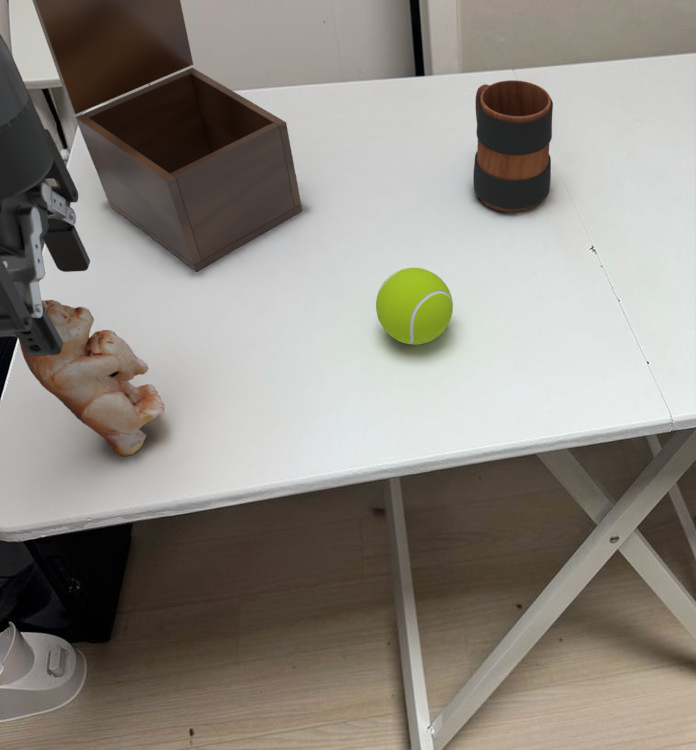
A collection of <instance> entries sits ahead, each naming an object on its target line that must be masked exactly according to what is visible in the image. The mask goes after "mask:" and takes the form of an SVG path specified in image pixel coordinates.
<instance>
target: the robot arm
mask: <svg viewBox="0 0 696 750" xmlns="http://www.w3.org/2000/svg"><path fill="white" fill-rule="evenodd" d="M22 77H23V76H22V75H21V73H20V71H19V68H18V65H17V63H16V61H15V59H14V57H13V54H12V52H11V50H10V47H9V46H8V45H7V43H6V41H5V40H4V38H3V36H2V34H1V33H0V333H11V332H14V335H15V336H16V338H17V339H18V341H20V342H21V344H22V346H23V348H24V349H25V351H26V353H28V354H29V355H33V356H44V355H57V354H60V353H61V350H62V347H63V341H62V339H61V337H60V335H59V334H58V332H57V330H56V328H55V326H54V324H53V322H52V321H51V319H50V317H49V315H48V313H47V311H46V310H45V308H43V307H42V301H41V300H42V295H41V290H40V289H41V288H40V281H41V280H43V279H44V278H45V276H46V269H45V261H44V256H43V251H42V242H44V245H45V246H46V248H47V250H48V252H49V254H50V256H51V258H52V260H53V263H54V265H55V267H56V268H57V270H59V271H61V272H64V273H68V272H69V273H71V272H85V271H87V270H88V269H89V266H90V263H91V260H90V257H89V255H88V252H87V250H86V249H85V246H84V244H83V241H82V239H81V237H80V235H79V233H78V231H77V229H76V226H75V225H76V223H77V215H76V212H75V210H74V209H73V208H72V207H71V203H77V202H78V201H79V191H78V189H77V187H76V185H75V183H74V180H73V178H72V176H71V174H70V171H69V170H68V168H67V166H66V164H65V161H64V159H63V157H62V155H61V153H60V151H59V148H58V146H57V144H56V142H55V140H54V138H53V136H52V134H51V131H50V130H49V129H47V128H45V127H44V125H43V123H42V120H41V118H40V116H39V113H38V111H37V108H36V106H35V104H34V102H33V100H32V97H31V95H30V92H29V90H28V88H27V87H26V84H25V81H24V80H23V78H22ZM48 179H49V180H50V179H51V180H55V181H57V183H58V185H52V186H51V185H50V184H48V183H46V182H45V180H48ZM21 259H22V260H23V259H25V261H26V262H25V264H26V265H25V266H24V267H23V268H17V269H16V268H15V269H7V268H8V267H9V264H8V261H7V260H21ZM14 283H20V284H21V285H22V289H23V296H24V297H25V300H23V298H22V296H21V294H20V292H19V291H18V289H17V287H16V285H15V284H14ZM20 342H19V343H20Z"/></svg>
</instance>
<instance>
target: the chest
mask: <svg viewBox="0 0 696 750" xmlns="http://www.w3.org/2000/svg"><path fill="white" fill-rule="evenodd" d="M75 120H76V123H77V125H78V128H79V130H80V133H81V137H82V138H83V141H84V144H85V146H86V149H87V151H88V154H89V156H90V158H91V161H92V163H93V166H94V169H95V172H96V174H97V176H98V179H99V182H100V184H101V186H102V189H103V191H104V194H105V196H106V197H105V198H106V199H107V201H108V204H109V206H110V207H111V208H112V209H113V210H114V211H116V212H117V213H119V214H120V215H121V216H123V217H124V218H125V219H127V220H128V221H129V222H131V224H133V225H134V226H135V227H137V228H138V229H140V230H141V231H143V232H144V234H146V235H148V236H149V237H150V238H152V239H153V240H154V241H155V242H157V243H158V244H160V245H161V246H162V247H164V248H165V250H167V251H169V252H170V253H171V254H172V255H174V256H175V257H177V258H178V259H179V260H180V261H182V262H183V263H184V264H186V265H187V266H189V267H190V268H191V269H192V270H193V271H195V272H198V271H200V270H202V269H203V268H205V267H207V266H208V265H210V264H212V263H214V262H215V261H218V260H219V259H221V258H222V257H224V256H226V255H228V254H230V253H232V252H233V251H235V250H236V249H238V248H240V247H241V246H243V245H245V244H246V243H248V242H251V241H253V240H254V239H255V238H258V237H259V236H261V235H262V234H264V233H266V232H268V231H269V230H271V229H273V228H274V227H277V226H278V225H280V224H282V223H283V222H285V221H287V220H288V219H290V218H293V217H294V216H295V215H297V214H299V213H301V212H303V206H302V200H301V196H300V190H299V186H298V178H297V173H296V169H295V163H294V158H293V157H294V156H293V153H292V147H291V140H290V135H289V130H288V125H287V122H286V121H285V120H283V119H282V118H280V117H278V116H277V115H275V114H272V112H269V111H268V110H266V109H264V108H263V107H261V106H259V105H258V104H256V103H254V102H253V101H251V100H250V99H247V98H246V97H244V96H242V95H240V94H238V93H237V92H235V91H233V90H232V89H230V88H229V87H227V86H225V85H223V84H222V83H220V82H218V81H217V80H215V79H213V78H211V77H209V76H208V75H207V74H204V73H202V72H201V71H199V70H198V69H196V68H194V67H190V68H188V69H186V70H183V71H180V72H178V73H176V74H173V75H171V76H168V77H167V78H166V77H165V78H163V79H161V80H159V81H157V82H155V83H153V84H149V85H148V86H145V87H143V88H139V89H138V90H136V91H133V92H131V93H128V94H127V95H124V96H122V97H119V98H117V99H115V100H112V101H110V102H106V103H105V104H103V105H100V106H99V107H96V108H93V109H91V110H89V111H86V112H84V113H81V114H78V115H76V116H75Z"/></svg>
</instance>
